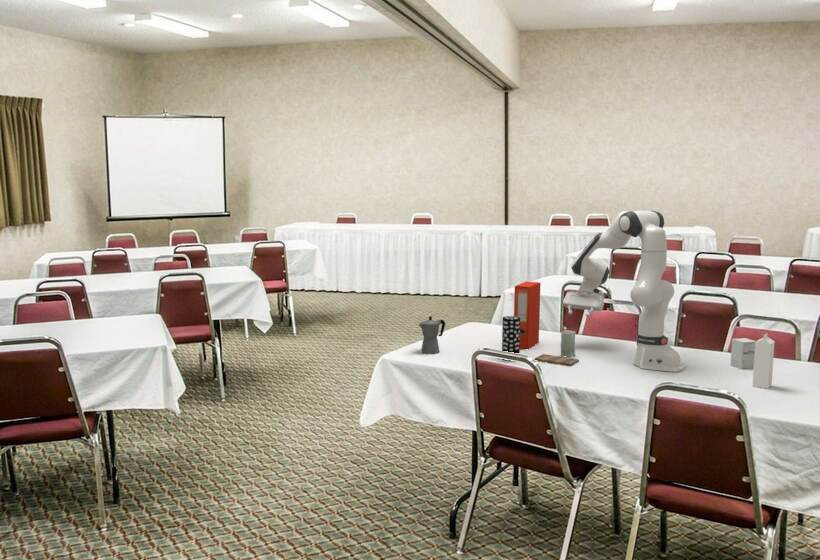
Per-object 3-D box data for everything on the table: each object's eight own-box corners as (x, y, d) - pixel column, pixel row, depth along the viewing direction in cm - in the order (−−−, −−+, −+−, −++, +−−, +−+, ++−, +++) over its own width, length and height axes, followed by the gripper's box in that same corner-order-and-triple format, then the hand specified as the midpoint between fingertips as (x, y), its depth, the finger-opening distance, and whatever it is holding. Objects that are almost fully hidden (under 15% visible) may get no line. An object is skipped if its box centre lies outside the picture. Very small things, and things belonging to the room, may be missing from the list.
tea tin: (574, 355, 357) (575, 331, 356) (570, 357, 353) (571, 333, 351) (564, 353, 360) (565, 329, 358) (560, 356, 356) (561, 331, 354)
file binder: (539, 342, 384) (540, 282, 379) (528, 350, 368) (529, 287, 364) (524, 341, 387) (525, 281, 383) (513, 348, 372) (514, 285, 368)
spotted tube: (519, 356, 355) (519, 316, 352) (519, 361, 346) (520, 319, 344) (501, 356, 356) (502, 316, 353) (502, 360, 347) (502, 319, 344)
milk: (771, 385, 305) (775, 333, 302) (767, 389, 300) (771, 336, 297) (756, 383, 309) (759, 331, 306) (751, 386, 304) (755, 334, 301)
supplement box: (741, 369, 330) (742, 342, 328) (729, 365, 337) (731, 338, 336) (754, 368, 332) (756, 341, 330) (743, 364, 339) (745, 337, 337)
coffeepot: (424, 355, 358) (424, 319, 355) (414, 351, 366) (414, 316, 363) (450, 351, 366) (450, 316, 363) (439, 347, 374) (439, 313, 371)
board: (578, 361, 345) (578, 359, 345) (570, 366, 337) (570, 363, 337) (543, 356, 355) (543, 354, 355) (534, 360, 347) (534, 358, 347)
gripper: (566, 287, 375) (557, 308, 368) (604, 291, 363) (596, 313, 357) (569, 294, 379) (560, 316, 373) (607, 298, 367) (599, 321, 361)
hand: (578, 315), depth 365 cm, fingers open, 8 cm apart
